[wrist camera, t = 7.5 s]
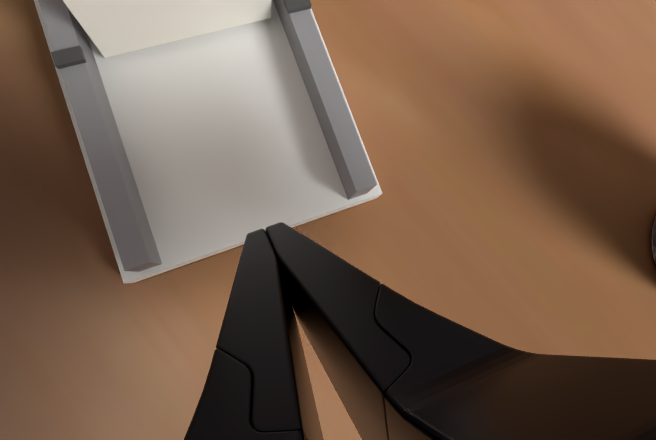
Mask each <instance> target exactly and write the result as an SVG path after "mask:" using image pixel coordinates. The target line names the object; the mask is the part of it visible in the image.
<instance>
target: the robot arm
mask: <svg viewBox="0 0 656 440" xmlns="http://www.w3.org/2000/svg"><path fill="white" fill-rule="evenodd" d="M265 230H266V231H265ZM265 230H264V229H259V230H256V231H253V232H250V233H248V234H247V236H246V239H245V243H244V246H243V250H242V253H241V257H240V261H239V264H238V268H237V272H236V275H235V279H234V283H233V286H232V290H231V294H230V297H229V301H228V305H227V308H226V312H225V316H224V319H223V323H222V327H221V330H220V334H219V338H218V341H217V345H216V350H215V352H214V355H213V359H212V363H211V366H210V370H209V373H208V376H207V379H206V382H205V386H204V389H203V392H202V395H201V397H200V400H199V402H198V405H197V408H196V410H195V413H194V416H193V418H192V421H191V423H190V426H189V428H188V431H187V433H186V435H185V438H184V440H323V435H322V431H321V426H320V422H319V418H318V413H317V409H316V404H315V400H314V395H313V391H312V387H311V382H310V378H309V373H308V369H307V364H306V360H305V356H304V351H303V347H302V342H301V338H300V333H299V329H298V325H297V321H296V317H295V314H296V316H297V318H298V320H299V323H300V324H301V326H302V328H303V330H304V332H305V334H306V336H307V338H308V339H309V341H310V343H311V345H312V347H313V349H314V351H315V352H316V354H317V356H318V358H319V360H320V362H321V364H322V365H323V367H324V369H325V371H326V373H327V375H328V377H329V379H330V380H331V382H332V384H333V386H334V388H335V390H336V392H337V393H338V395H339V397H340V399H341V401H342V403H343V405H344V406H345V408H346V410H347V412H348V414H349V416H350V418H351V419H352V421H353V423H354V425H355V427H356V429H357V431H358V433H359V434H360V436H361V438H362V440H656V360H648V359H628V358H607V357H587V356H566V355H546V354H535V353H529V352H525V351H521V350H517V349H514V348H511V347H508V346H506V345H503V344H501V343H499V342H496V341H494V340H492V339H490V338H488V337H485V336H483V335H481V334H479V333H477V332H475V331H473V330H470V329H468V328H466V327H464V326H462V325H460V324H458V323H455V322H453V321H451V320H449V319H447V318H445V317H443V316H440V315H438V314H436V313H434V312H432V311H430V310H428V309H426V308H424V307H422V306H420V305H418V304H416V303H414V302H413V301H411V300H409V299H407V298H406V297H404V296H402V295H400V294H399V293H397V292H395V291H394V290H392V289H390V288H389V287H387V286H385V285H384V284H380V282H379V281H377V280H375V279H374V278H372V277H371V276H369V275H367V274H366V273H364V272H363V271H361V270H359V269H358V268H356V267H354V266H353V265H351V264H350V263H348V262H346V261H345V260H343V259H341V258H340V257H338V256H337V255H335V254H333V253H332V252H330V251H328V250H327V249H325V248H324V247H322V246H320V245H319V244H317V243H315V242H314V241H312V240H311V239H309V238H307V237H306V236H304V235H302V234H301V233H299V232H298V231H296V230H294V229H293V228H291V227H289V226H288V225H286V224H285V223H283V222H279V223H276V224H273V225H271V226H268V227H266V229H265ZM293 309H294V310H293ZM294 312H295V314H294Z"/></svg>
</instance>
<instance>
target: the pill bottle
mask: <svg viewBox="0 0 656 440" xmlns="http://www.w3.org/2000/svg"><path fill="white" fill-rule="evenodd" d="M652 251H653V256H654V260H655V263H656V218H655V222H654V225H653V230H652Z"/></svg>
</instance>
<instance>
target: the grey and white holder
mask: <svg viewBox="0 0 656 440" xmlns="http://www.w3.org/2000/svg"><path fill="white" fill-rule="evenodd" d="M34 3H35V6H36V9H37V12H38V15H39V19H40V22H41V25H42V28H43V31H44V34H45V37H46V41H47V44H48V47H49V50H50V53H51V56H52V59H53V63H54V66H55V69H56V72H57V75H58V78H59V82H60V85H61V88H62V91H63V94H64V97H65V100H66V104H67V107H68V110H69V113H70V116H71V119H72V122H73V126H74V129H75V132H76V135H77V138H78V141H79V144H80V148H81V151H82V154H83V157H84V160H85V163H86V167H87V170H88V173H89V176H90V179H91V182H92V185H93V189H94V192H95V195H96V198H97V201H98V204H99V207H100V211H101V214H102V217H103V220H104V223H105V226H106V230H107V233H108V236H109V239H110V242H111V245H112V248H113V252H114V255H115V258H116V261H117V264H118V267H119V270H120V274H121V277H122V280H123V283H135V282H138V281H140V280H143V279H146V278H149V277H152V276H155V275H158V274H161V273H163V272H166V271H169V270H172V269H175V268H178V267H181V266H183V265H186V264H189V263H192V262H195V261H198V260H201V259H204V258H206V257H209V256H212V255H215V254H218V253H221V252H224V251H227V250H229V249H232V248H235V247H238V246H241V245H244V243H245V239H246V236H247V234H248V233H250V232H253V231H256V230H259V229H264V230H265V229H266V227H268V226H271V225H273V224H276V223H279V222H283V223H285V224H286V225H288V226H289V227H291V228H293V227H295V226H298V225H301V224H304V223H307V222H310V221H313V220H316V219H318V218H321V217H324V216H327V215H330V214H333V213H336V212H338V211H341V210H344V209H347V208H350V207H353V206H356V205H359V204H361V203H364V202H367V201H370V200H373V199H376V198H377V197H378V196H380V195H381V194H382V191H381V189H380V186H379V183H378V181H377V178H376V176H375V173H374V170H373V168H372V165H371V163H370V160H369V157H368V155H367V152H366V150H365V147H364V144H363V142H362V139H361V137H360V134H359V131H358V129H357V126H356V124H355V121H354V118H353V116H352V113H351V111H350V108H349V105H348V103H347V100H346V98H345V95H344V92H343V90H342V87H341V85H340V82H339V79H338V77H337V74H336V72H335V69H334V66H333V64H332V61H331V59H330V56H329V53H328V51H327V48H326V46H325V43H324V40H323V38H322V35H321V33H320V30H319V27H318V25H317V22H316V20H315V17H314V14H313V12H312V9H311V3H310V0H272V5H271V18H269V19H265V20H261V21H256V22H252V23H248V24H244V25H240V26H236V27H231V28H227V29H223V30H219V31H215V32H211V33H206V34H202V35H198V36H194V37H190V38H186V39H181V40H177V41H173V42H169V43H165V44H161V45H156V46H152V47H148V48H144V49H140V50H136V51H131V52H127V53H123V54H119V55H115V56H111V57H106V58H105V57H104V56H103V55H102V53H101V52H100V51H99V49H98V48H97V46H96V45H95V44H94V42H93V41H92V40H91V38H90V37H89V36H88V34H87V33H86V32H85V30H84V29H83V27H82V26H81V25H80V23H79V22H78V21H77V19H76V18H75V17H74V15H73V14H72V12H71V11H70V10H69V8H68V7H67V6H66V4H65V3H64V2H63V0H34ZM265 231H266V230H265Z"/></svg>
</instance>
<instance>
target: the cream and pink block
mask: <svg viewBox="0 0 656 440" xmlns="http://www.w3.org/2000/svg"><path fill="white" fill-rule="evenodd" d="M63 2H64V3H65V4H66V6H67V7H68V8H69V10H70V11H71V12H72V14H73V15H74V17H75V18H76V19H77V21H78V22H79V23H80V25H81V26H82V27H83V29H84V30H85V32H86V33H87V34H88V36H89V37H90V38H91V40H92V41H93V42H94V44H95V45H96V46H97V48H98V49H99V51H100V52H101V53H102V55H103V56H104V57H105V58H106V57H111V56H115V55H119V54H123V53H127V52H131V51H136V50H140V49H144V48H148V47H152V46H156V45H161V44H165V43H169V42H173V41H177V40H181V39H186V38H190V37H194V36H198V35H202V34H206V33H211V32H215V31H219V30H223V29H227V28H231V27H236V26H240V25H244V24H248V23H252V22H256V21H261V20H265V19H269V18H271V5H272V0H63Z"/></svg>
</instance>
